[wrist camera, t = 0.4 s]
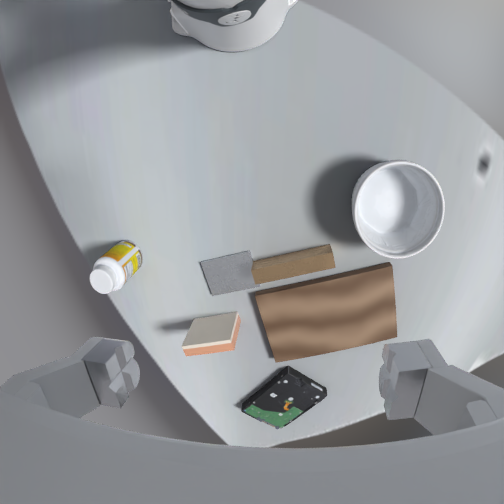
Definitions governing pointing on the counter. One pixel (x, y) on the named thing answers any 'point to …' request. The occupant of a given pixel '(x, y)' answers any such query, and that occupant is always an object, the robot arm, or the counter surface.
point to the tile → (212, 334)
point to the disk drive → (284, 398)
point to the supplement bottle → (116, 267)
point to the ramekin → (397, 208)
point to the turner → (263, 268)
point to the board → (329, 313)
